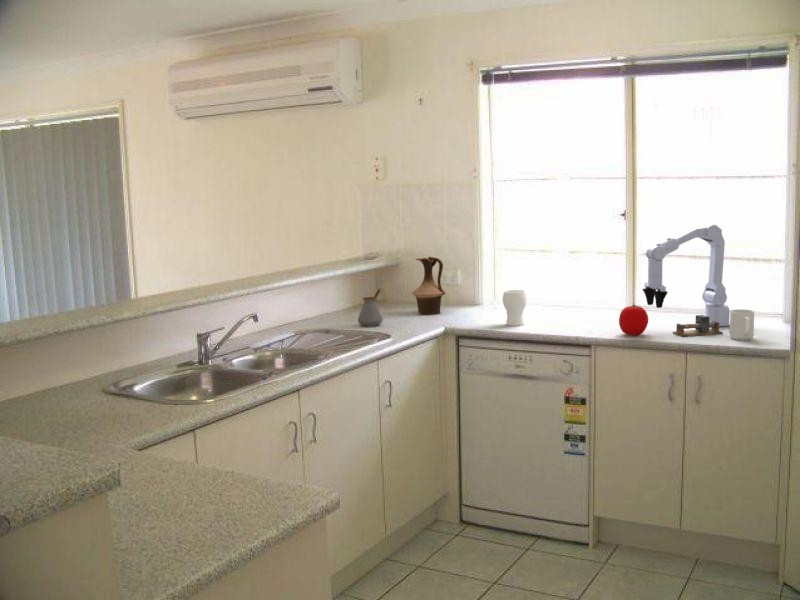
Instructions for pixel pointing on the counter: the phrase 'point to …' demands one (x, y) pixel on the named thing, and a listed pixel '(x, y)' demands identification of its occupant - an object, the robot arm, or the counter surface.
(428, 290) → the pitcher
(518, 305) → the cup
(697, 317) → the collar
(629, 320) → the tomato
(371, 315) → the coffee pot
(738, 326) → the mug
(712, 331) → the towel rail
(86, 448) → the counter surface
